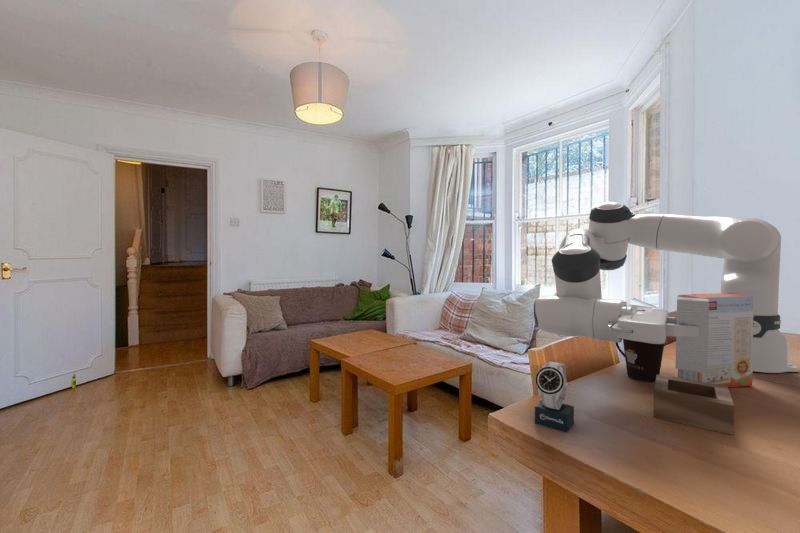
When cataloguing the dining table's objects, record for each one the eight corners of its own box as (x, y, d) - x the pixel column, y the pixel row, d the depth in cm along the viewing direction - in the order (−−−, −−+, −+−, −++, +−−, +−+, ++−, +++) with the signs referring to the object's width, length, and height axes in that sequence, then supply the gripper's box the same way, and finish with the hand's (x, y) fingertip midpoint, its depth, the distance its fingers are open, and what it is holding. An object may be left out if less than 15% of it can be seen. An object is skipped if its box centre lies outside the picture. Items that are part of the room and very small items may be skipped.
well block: (656, 397, 75) (656, 374, 75) (726, 411, 69) (727, 386, 68) (653, 417, 67) (653, 390, 67) (733, 435, 60) (734, 405, 60)
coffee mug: (671, 384, 83) (672, 341, 82) (630, 382, 85) (631, 340, 84) (647, 368, 94) (648, 331, 94) (611, 367, 96) (612, 329, 96)
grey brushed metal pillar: (675, 362, 71) (677, 297, 70) (705, 366, 68) (707, 298, 67) (675, 368, 67) (677, 299, 67) (707, 373, 64) (709, 301, 64)
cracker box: (726, 377, 87) (728, 292, 86) (753, 387, 81) (756, 294, 80) (674, 380, 85) (676, 293, 84) (698, 390, 79) (700, 296, 78)
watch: (530, 427, 64) (531, 366, 63) (545, 411, 70) (545, 355, 69) (564, 437, 60) (565, 372, 60) (576, 419, 66) (577, 361, 66)
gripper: (604, 312, 67) (700, 320, 58) (619, 300, 83) (696, 305, 74) (603, 345, 67) (699, 358, 59) (618, 327, 83) (695, 335, 75)
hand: (698, 328), depth 67 cm, fingers closed on grey brushed metal pillar, 4 cm apart
